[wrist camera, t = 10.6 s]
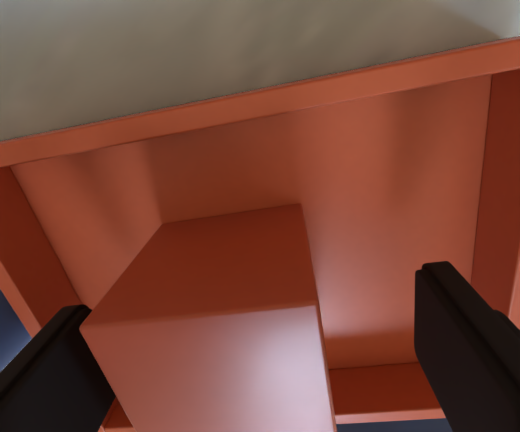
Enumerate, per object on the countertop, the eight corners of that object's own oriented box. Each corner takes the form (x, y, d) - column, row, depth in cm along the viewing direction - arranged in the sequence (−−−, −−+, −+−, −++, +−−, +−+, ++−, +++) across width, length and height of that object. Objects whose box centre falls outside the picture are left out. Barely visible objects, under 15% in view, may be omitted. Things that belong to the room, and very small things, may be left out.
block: (198, 329, 13) (153, 468, 8) (161, 223, 11) (76, 328, 6) (318, 317, 12) (341, 460, 8) (302, 201, 10) (319, 301, 6)
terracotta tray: (123, 385, 15) (95, 438, 13) (-6, 142, 11) (-84, 160, 8) (469, 357, 13) (509, 415, 11) (507, 38, 8) (590, 24, 6)
